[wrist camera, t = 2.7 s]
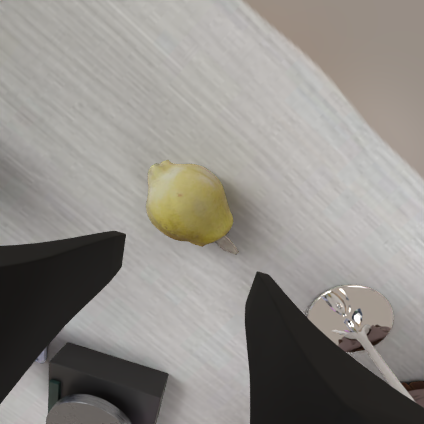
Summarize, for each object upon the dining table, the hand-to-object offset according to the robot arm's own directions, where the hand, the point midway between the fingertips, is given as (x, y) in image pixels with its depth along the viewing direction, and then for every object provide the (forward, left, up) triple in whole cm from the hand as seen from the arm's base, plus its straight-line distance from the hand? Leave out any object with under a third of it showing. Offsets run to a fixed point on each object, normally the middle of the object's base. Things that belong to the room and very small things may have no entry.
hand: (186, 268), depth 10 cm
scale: (-7, -26, -8) cm, 28 cm away
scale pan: (-7, -26, -5) cm, 27 cm away
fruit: (-1, +1, -8) cm, 9 cm away
